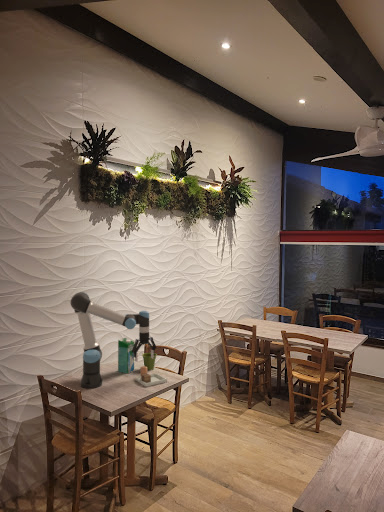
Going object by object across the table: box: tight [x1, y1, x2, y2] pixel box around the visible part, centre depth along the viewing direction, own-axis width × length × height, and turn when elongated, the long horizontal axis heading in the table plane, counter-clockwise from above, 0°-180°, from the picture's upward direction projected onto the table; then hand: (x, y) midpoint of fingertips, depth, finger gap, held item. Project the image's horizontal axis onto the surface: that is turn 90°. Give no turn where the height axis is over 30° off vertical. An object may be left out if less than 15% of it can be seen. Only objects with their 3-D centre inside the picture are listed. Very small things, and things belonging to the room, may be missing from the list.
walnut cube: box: [140, 373, 151, 383], centre depth 293 cm, size 5×5×5 cm
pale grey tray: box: [135, 372, 168, 388], centre depth 296 cm, size 17×15×2 cm
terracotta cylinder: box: [140, 366, 148, 376], centre depth 306 cm, size 5×5×7 cm
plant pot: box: [141, 352, 158, 371], centre depth 325 cm, size 12×12×11 cm
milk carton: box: [117, 337, 135, 374], centre depth 318 cm, size 9×9×25 cm
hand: (144, 359), depth 306 cm, fingers open, 13 cm apart
